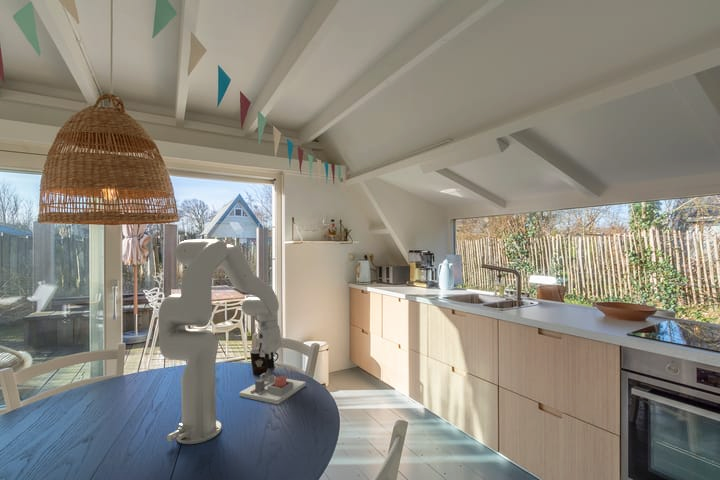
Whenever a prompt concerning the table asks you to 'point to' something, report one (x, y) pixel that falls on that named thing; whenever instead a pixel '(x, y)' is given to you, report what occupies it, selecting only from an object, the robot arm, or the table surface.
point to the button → (280, 381)
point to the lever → (269, 372)
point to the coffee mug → (258, 362)
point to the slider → (259, 385)
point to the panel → (273, 390)
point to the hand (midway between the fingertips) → (269, 367)
